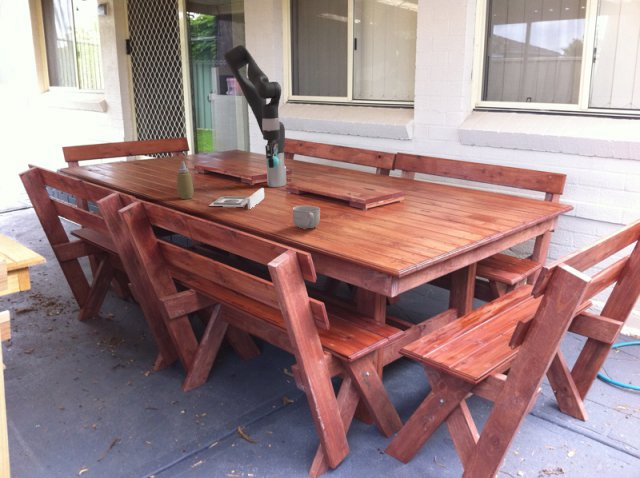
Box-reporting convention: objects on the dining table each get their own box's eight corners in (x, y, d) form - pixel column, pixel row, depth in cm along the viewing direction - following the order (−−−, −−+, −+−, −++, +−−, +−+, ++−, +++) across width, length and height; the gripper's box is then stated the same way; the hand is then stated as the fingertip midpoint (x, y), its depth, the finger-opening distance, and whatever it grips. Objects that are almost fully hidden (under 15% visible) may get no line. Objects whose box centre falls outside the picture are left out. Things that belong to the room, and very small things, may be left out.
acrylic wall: (261, 198, 287) (261, 187, 286) (264, 198, 287) (263, 187, 285) (247, 209, 267) (247, 198, 265) (250, 209, 266) (249, 198, 265)
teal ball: (273, 166, 274) (272, 154, 273) (281, 167, 271) (281, 155, 269) (264, 168, 270) (263, 156, 269) (273, 169, 267) (272, 157, 265)
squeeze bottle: (197, 196, 294) (194, 160, 289) (189, 200, 287) (185, 162, 281) (183, 195, 296) (179, 159, 291) (174, 199, 289) (170, 162, 284)
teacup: (292, 224, 241) (291, 205, 239) (319, 223, 242) (319, 203, 239) (294, 234, 228) (293, 213, 225) (322, 232, 229) (322, 212, 226)
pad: (221, 198, 288) (221, 195, 288) (253, 199, 285) (253, 196, 285) (209, 206, 273) (208, 203, 273) (242, 207, 270) (242, 204, 270)
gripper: (267, 126, 273) (269, 163, 278) (258, 130, 259) (260, 169, 264) (283, 126, 271) (284, 163, 276) (275, 130, 258) (277, 169, 263)
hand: (273, 166), depth 270 cm, fingers closed on teal ball, 5 cm apart
